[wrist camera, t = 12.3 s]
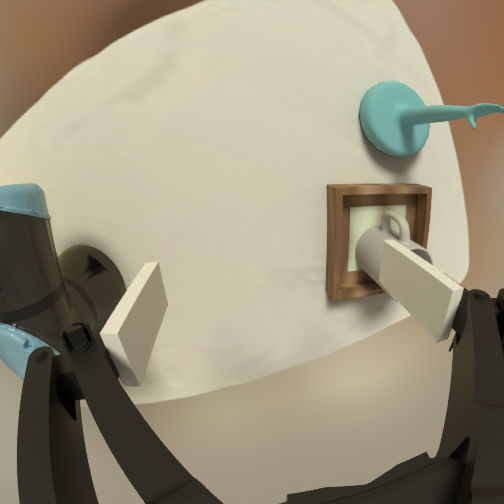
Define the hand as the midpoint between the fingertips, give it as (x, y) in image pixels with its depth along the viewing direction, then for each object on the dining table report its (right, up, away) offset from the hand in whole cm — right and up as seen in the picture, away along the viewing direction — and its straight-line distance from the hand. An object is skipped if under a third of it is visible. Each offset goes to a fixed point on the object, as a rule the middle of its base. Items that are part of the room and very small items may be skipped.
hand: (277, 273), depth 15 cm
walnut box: (+20, +4, +29) cm, 35 cm away
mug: (+19, +3, +28) cm, 34 cm away
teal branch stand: (+21, +23, +22) cm, 38 cm away
